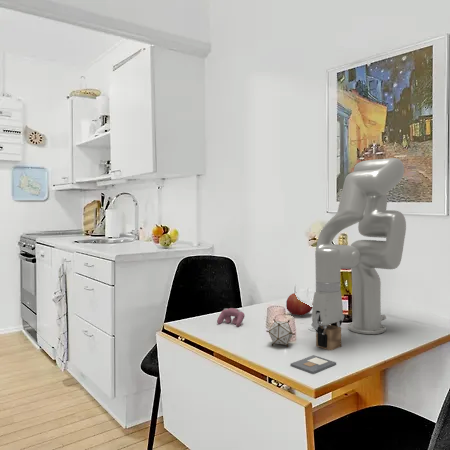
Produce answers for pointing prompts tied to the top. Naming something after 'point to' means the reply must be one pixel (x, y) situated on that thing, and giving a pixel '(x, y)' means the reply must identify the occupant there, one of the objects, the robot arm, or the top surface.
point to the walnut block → (331, 337)
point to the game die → (280, 332)
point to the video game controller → (227, 315)
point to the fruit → (297, 306)
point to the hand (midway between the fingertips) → (328, 343)
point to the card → (313, 364)
